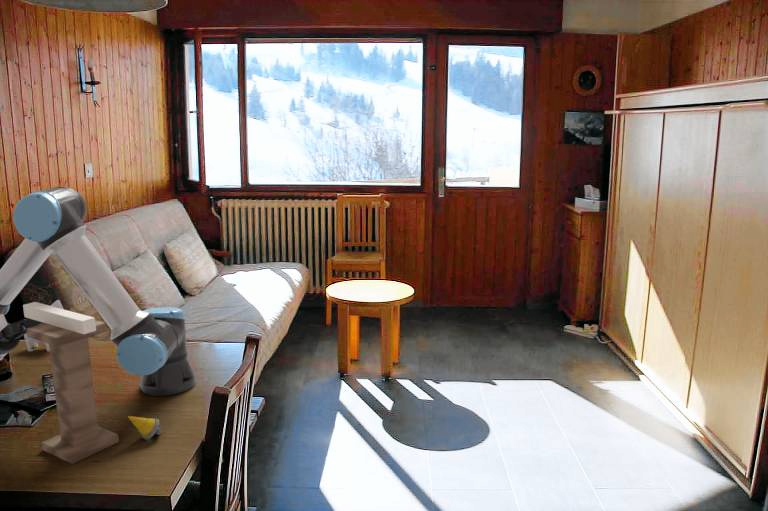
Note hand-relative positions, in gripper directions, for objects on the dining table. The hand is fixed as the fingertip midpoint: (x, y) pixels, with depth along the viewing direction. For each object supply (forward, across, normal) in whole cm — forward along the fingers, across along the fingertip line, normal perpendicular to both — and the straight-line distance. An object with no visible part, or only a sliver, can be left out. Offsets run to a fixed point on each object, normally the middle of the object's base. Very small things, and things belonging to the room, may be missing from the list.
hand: (33, 312), depth 158 cm
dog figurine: (-67, -33, +2) cm, 75 cm away
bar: (+8, 0, -6) cm, 10 cm away
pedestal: (-5, 0, -34) cm, 34 cm away
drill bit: (+4, -11, -39) cm, 41 cm away
